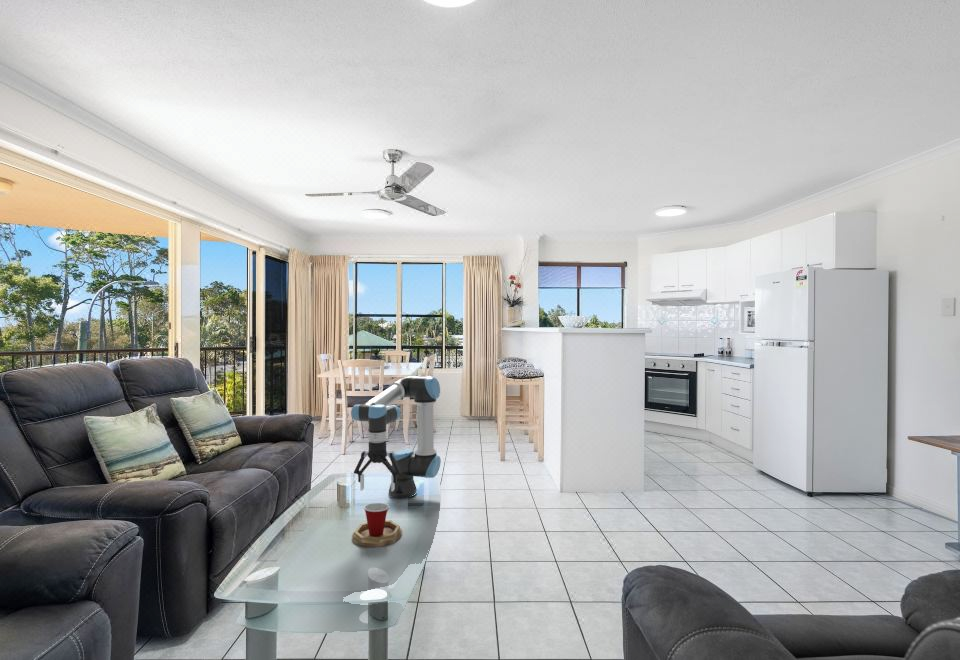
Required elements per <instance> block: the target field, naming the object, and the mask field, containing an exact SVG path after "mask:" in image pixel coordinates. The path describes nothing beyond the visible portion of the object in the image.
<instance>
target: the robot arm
mask: <svg viewBox="0 0 960 660" xmlns="http://www.w3.org/2000/svg"><path fill="white" fill-rule="evenodd" d="M440 394H441V386H440V381H439V380H438V379H437V377H435V376H429V375H428V376H427V375H426V376H425V375H420V376H419V375H408V376H404V377H400V378H399V379H397V380H395V381H393V382H392V383H390V384H389V385H388V388H386V389H384V390H383V391H382V392H379V393H378V394H377V395H375V396H374V397H372V398H371V399H369V400H368V401H367V402H365V403H363V404H360V403H359V404H354V405H353V406H352V408H351V409H350V410H351V411H350V415H351V418H352V420H353V421H355V422H356V421H357V422H367V423H368V452H367V451H365V450H363V451H362V452H361V455H360V459H359V461H358V463H357V464H356V467H355V469H354V471H353V473H354V474H355V475H357V477H358V478H357V482H358V483H359V485H360V487H359V489H360V491H363V490H364V489H365V473H363V472H364V471H365V470H366V469H367V468H368V467H369V466H370V464H372V463H374V464H376V463H378V464H381V463H382V464H383V465H384V466H385V467H386V469H387V470H388V471H389V472H390V473H391V477H390V479H391V480H390V485H389V488H388V496H389V497H390V498H393V499H407V498H406V497H409V498H411V497H410V496H412V495H414V494H415V493H416V492H417V491H418V490H417V485H416V483H415V480H414V479H415V478H414V477H419V478H426V479H431V478H432V479H434V478H435V477H436V476H437V475H438V473H439V471H440V468H441V464H442V463H441V457H440V456H439V455H437V454H438V453H437V449H435V446H434V442H435V441H434V431H435V430H434V404H435V403H436V402H437V399H439V397H440ZM403 398H411V399H412V398H413V399H414V403H415V404H416V405H417V410H416V411H417V413H416V415H417V418H416V419H417V421H416V422H417V449H416V450H415V451H414V450H413V449H401V450H398V451H395V452H394V451H391V452H387V441H386V440H387V425H388V424H392V423H394V422H396V421H397V420H399V419H400V417H401V413H402V412H401V409H400V408H399V406H398V405H396V404H393V403H394V402H395V401H397V400H402V399H403ZM367 457H368V458H369V459H368V460H367V462H366V463H365V464H364V465H363V462H364V461H365V458H367ZM387 457H388V458H389V459H390V460H388V459H387ZM389 461H390V462H391V463H390V462H389ZM362 465H363V467H362ZM361 467H362V468H361ZM416 494H417V493H416ZM414 496H415V495H414ZM412 497H413V496H412Z"/></svg>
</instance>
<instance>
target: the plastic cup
mask: <svg viewBox="0 0 960 660" xmlns="http://www.w3.org/2000/svg"><path fill="white" fill-rule="evenodd" d="M363 509H364V511H365V517H366V523H367V524H368V529H369V534H370V536H373V537H377V536H380V535H382V534H383V531H384V526H385V520H386V519H387V514H388V510H389V509H390V505H389V504H388V503H387V504H386V503H383V502H374V503H373V502H371V503H368V504H366V505H364V506H363Z"/></svg>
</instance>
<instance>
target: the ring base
mask: <svg viewBox="0 0 960 660" xmlns="http://www.w3.org/2000/svg"><path fill="white" fill-rule="evenodd" d="M402 536H403V530H402V528H401V525H399V524H398V523H396V522H395V521H393V520H388V519H387V520H385V526H384V531H383V534H382V535H380V536H377V537H373V536H370V534H369V529H368V524H367V522H364V523H361V524H359V525H358V526H357V528H356V529H355V530H354V531H353V533H352V535H351V540H352V542H353V544H355V545H356V546H359V547H363V548H381V547H386V546H390V545H393V544H394V543H396V542H398V541H399V540H400V539H401V538H402Z"/></svg>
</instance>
